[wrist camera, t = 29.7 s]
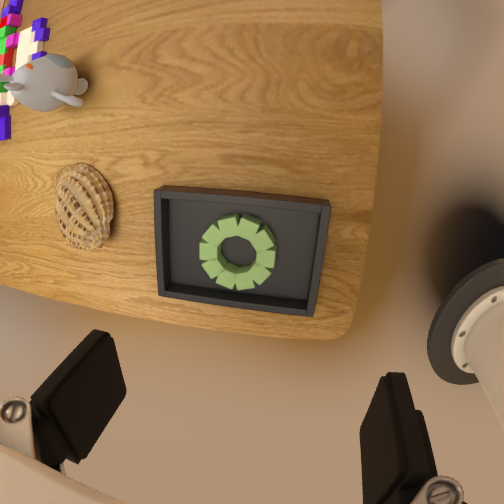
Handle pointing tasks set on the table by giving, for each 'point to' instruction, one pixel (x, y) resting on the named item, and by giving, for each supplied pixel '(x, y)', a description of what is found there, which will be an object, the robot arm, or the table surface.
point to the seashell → (83, 206)
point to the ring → (229, 272)
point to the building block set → (29, 48)
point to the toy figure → (46, 83)
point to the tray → (240, 247)
